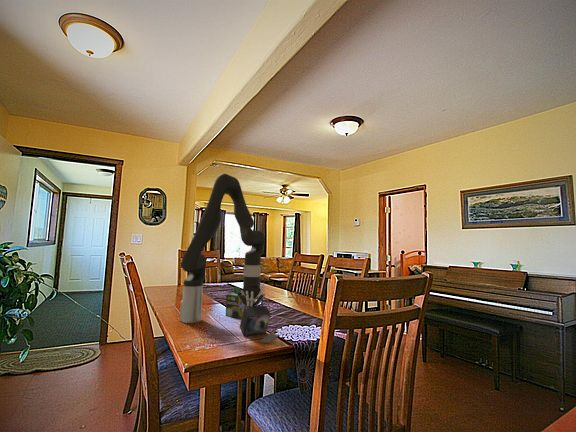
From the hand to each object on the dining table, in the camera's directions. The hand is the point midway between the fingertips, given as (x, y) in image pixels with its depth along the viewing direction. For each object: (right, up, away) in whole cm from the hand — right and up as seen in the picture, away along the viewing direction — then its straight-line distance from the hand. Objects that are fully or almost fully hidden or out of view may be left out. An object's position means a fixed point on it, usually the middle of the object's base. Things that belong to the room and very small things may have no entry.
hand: (250, 314), depth 136 cm
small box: (+1, -7, -1) cm, 7 cm away
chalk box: (-11, -10, +28) cm, 32 cm away
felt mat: (+9, -7, -8) cm, 14 cm away
